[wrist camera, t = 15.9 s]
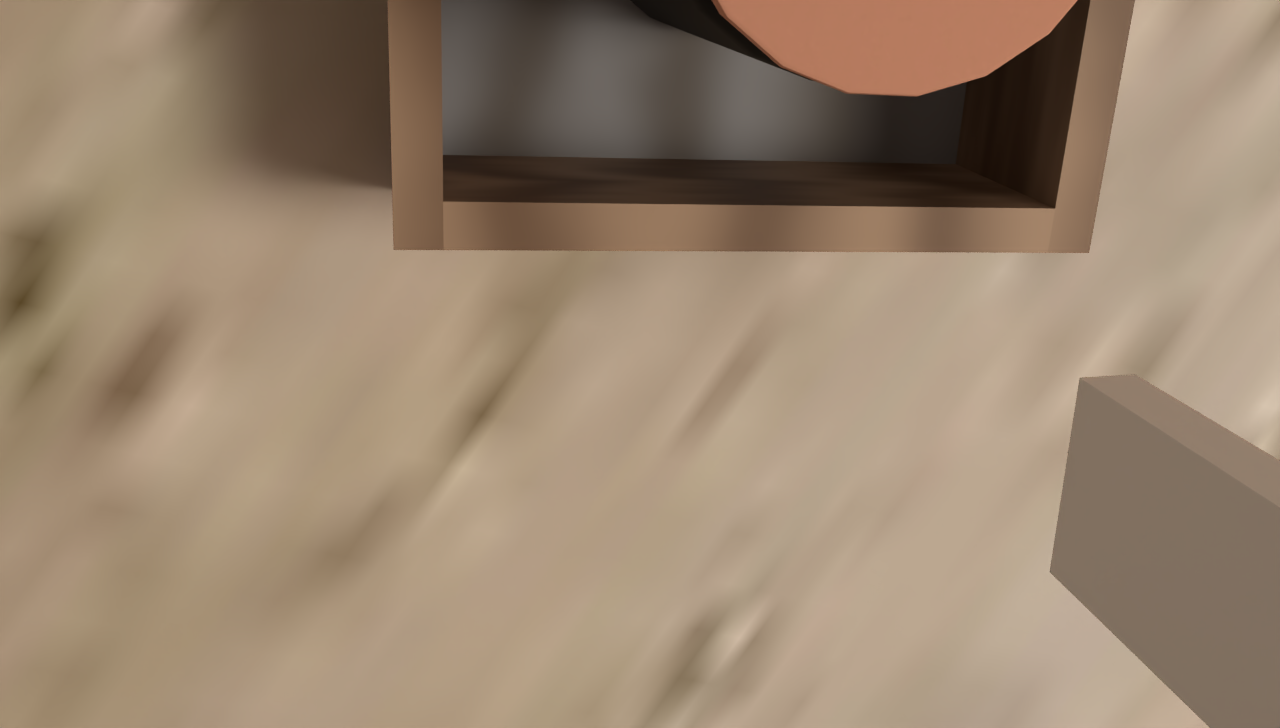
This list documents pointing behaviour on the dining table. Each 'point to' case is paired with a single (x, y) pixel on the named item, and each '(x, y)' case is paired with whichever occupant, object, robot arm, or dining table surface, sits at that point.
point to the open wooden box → (730, 139)
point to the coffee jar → (870, 37)
